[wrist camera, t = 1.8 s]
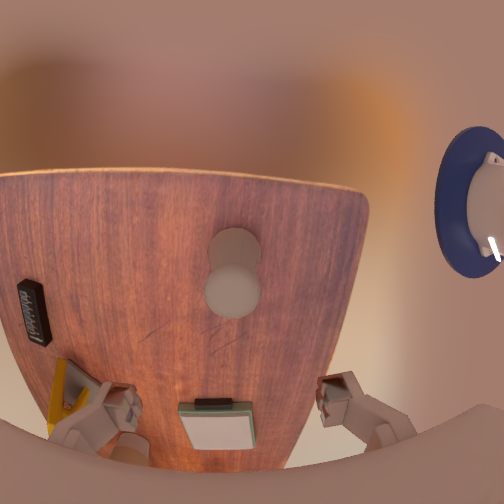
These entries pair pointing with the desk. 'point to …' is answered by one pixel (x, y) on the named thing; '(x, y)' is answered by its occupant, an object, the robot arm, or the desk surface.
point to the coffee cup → (131, 449)
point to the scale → (218, 424)
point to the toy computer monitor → (69, 391)
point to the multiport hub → (34, 312)
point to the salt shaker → (233, 273)
